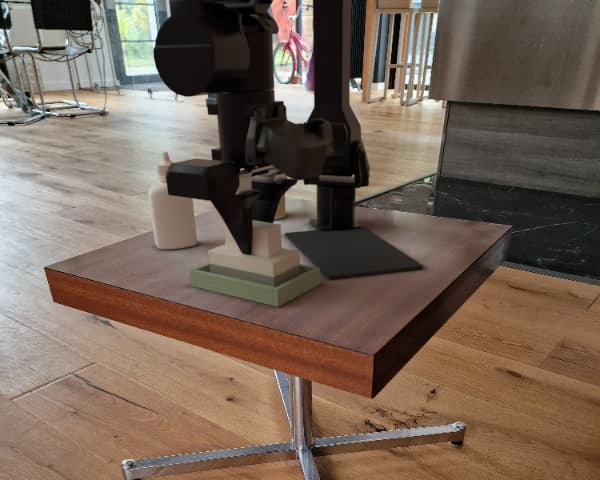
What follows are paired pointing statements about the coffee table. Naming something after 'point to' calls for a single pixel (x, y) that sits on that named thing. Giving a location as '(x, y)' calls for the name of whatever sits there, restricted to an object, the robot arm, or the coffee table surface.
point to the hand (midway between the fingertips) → (254, 250)
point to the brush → (257, 257)
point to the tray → (256, 285)
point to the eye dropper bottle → (171, 213)
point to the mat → (351, 253)
